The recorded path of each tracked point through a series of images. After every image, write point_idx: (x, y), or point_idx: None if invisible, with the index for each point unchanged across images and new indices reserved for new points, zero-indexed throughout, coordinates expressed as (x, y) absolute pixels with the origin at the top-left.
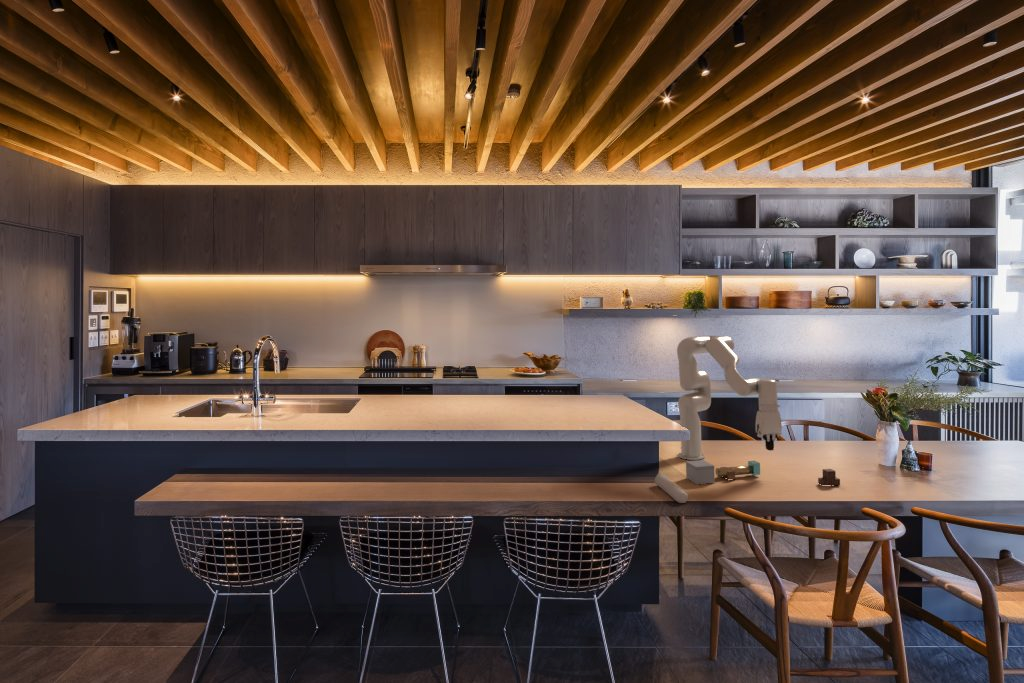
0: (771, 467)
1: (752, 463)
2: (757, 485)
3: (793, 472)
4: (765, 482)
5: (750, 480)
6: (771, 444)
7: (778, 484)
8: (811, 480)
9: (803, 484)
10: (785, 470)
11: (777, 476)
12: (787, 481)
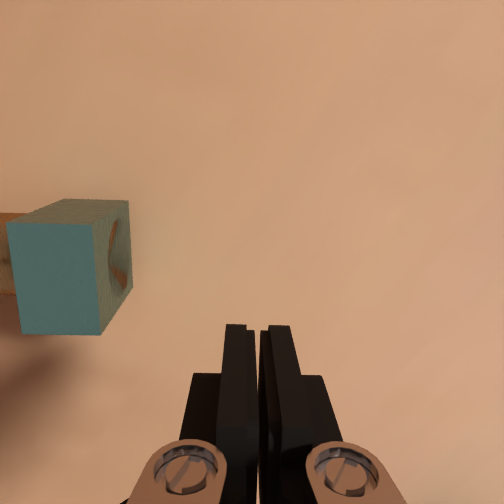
0: (411, 33)
1: (20, 313)
2: (19, 440)
3: (462, 246)
4: (106, 401)
5: None
6: (261, 493)
7: None
8: (421, 443)
9: None
10: (450, 173)
11: (274, 303)
12: None
